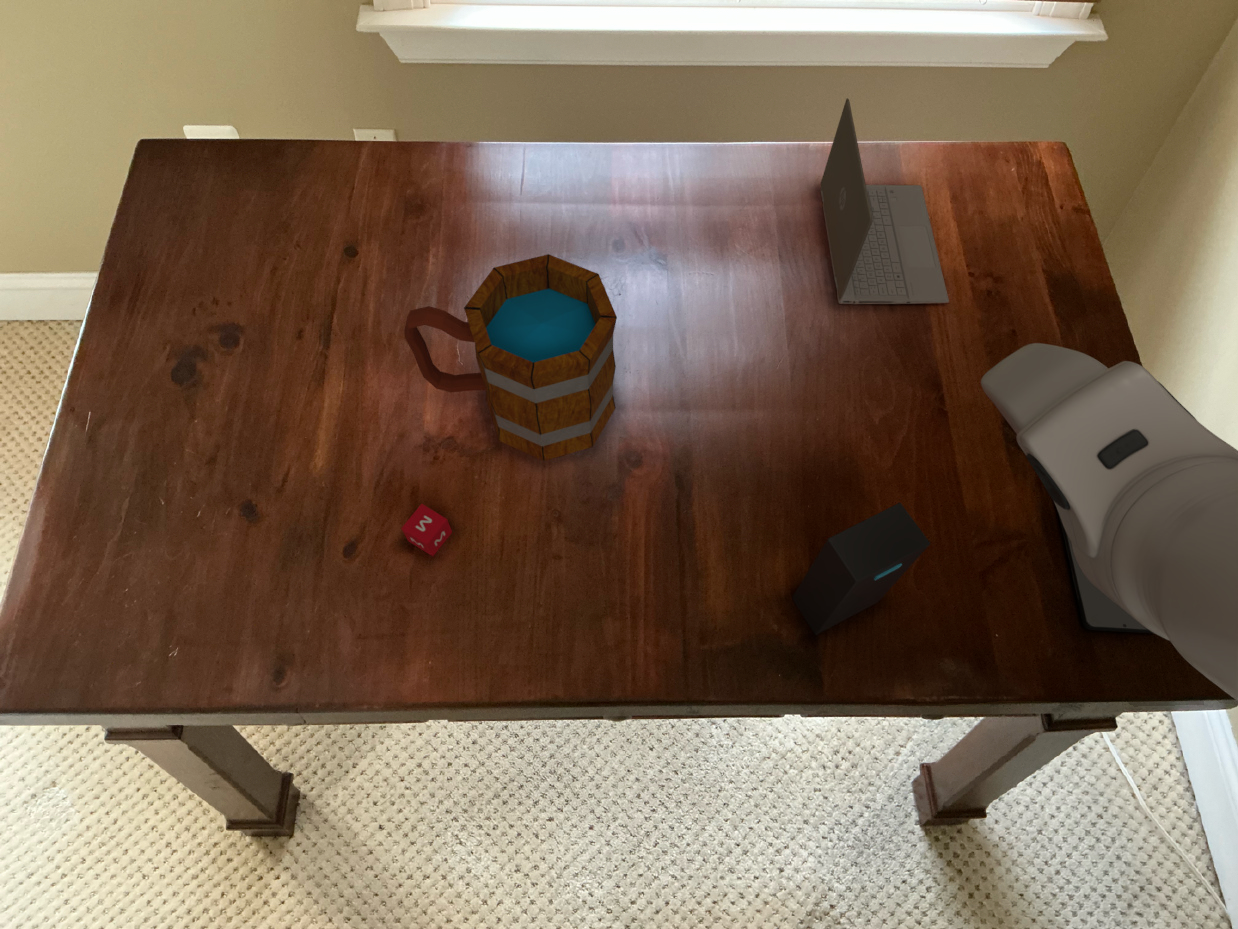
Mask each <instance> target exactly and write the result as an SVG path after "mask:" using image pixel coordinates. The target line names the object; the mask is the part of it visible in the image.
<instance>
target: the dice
mask: <svg viewBox="0 0 1238 929" xmlns="http://www.w3.org/2000/svg"><path fill="white" fill-rule="evenodd" d="M401 531H402V533H403V534H404V537H405V538H406V540H407V542H409V543H410V544H412V545H413V546H415V547H417V548H418V549H420V550H422V551H423V552H424V553H426V554H428V555H429V556H431V557H434V556H435V555H436V554H437V553H438V551H439V550H440V549H441V547H442V546H443V545H444V543H445V542H446V541H447V540H448V538H449V537H451V534H452V533H453V530H452V527H451V526H450V523H449V520H448V518H446V517H444V516H443V515H441V514H440V513H438V512H437V511H436V510H435V511H434V510H433V509H432V508H430V507H428V506H426V505H425V504H423V503H421V504H420V505H419V506H418V508H416V510H415V511H414V512H413V513H412V514H411V516H410V517H409V518H408V519H407V520H406V522H405V523H404V524H403V525H402V526H401Z"/></svg>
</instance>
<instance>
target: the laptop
mask: <svg viewBox="0 0 1238 929" xmlns="http://www.w3.org/2000/svg"><path fill="white" fill-rule="evenodd" d="M842 108H843V109H842V112H841V115H840V119H839V121H838V125H837V128H836V131H835V135H834V137H833V141H832V145H831V147H830V151H829V154H828V159H827V160H826V165H825V168H824V171H823V174H822V177H821V180H820V188H819V190H820V196H821V202H822V210H823V216H824V222H825V228H826V234H827V241H828V242H827V243H828V247H829V253H830V260H831V266H832V272H833V278H834V282H835V287H836V289H835V290H836V297H837V302H838V304H841V305H901V304H903V305H905V304H906V305H907V304H914V305H915V304H948V303H950V299H949V295H948V292H947V287H946V282H945V278H944V275H943V274H944V273H943V270H942V266H941V262H940V256H939V254H938V253H939V252H938V248H937V244H936V241H935V237H934V233H933V228H932V224H931V219H930V216H929V211H928V206H927V204H926V198H925V195H924V190H923V187H922V185H919V184H867V183H866V179H865V173H864V170H863V169H864V168H863V164H862V158H861V154H860V153H861V152H860V148H859V142H858V139H857V133H856V128H855V123H854V117H853V113H852V108H851V102H850V99H849V98H848V97H847V98H845V102H844V105H843V107H842Z"/></svg>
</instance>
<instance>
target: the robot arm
mask: <svg viewBox="0 0 1238 929" xmlns="http://www.w3.org/2000/svg"><path fill="white" fill-rule="evenodd" d="M980 386H981V388H982V390H983V393H985V395H986V396H987V397H988V399H989V400H990V401H991V402H992V403H993V404H994V406H995V407H996V409H997V410H998V411H999V413H1000V414H1001V415H1002V417H1003V418H1004V419H1005V421H1006V422H1007V423H1008V425H1009V426H1010V427H1011V428H1012V430H1013V431H1014V433H1015V434H1016V437H1015V438H1016V442H1017V445H1018V446H1019V448H1020V449H1021V451H1022V452H1023V453H1024V455H1025V458H1026V460H1027V462H1028V463H1029V465H1030V466H1031V468H1032V469H1033V470H1034V472H1035V474H1036V475H1037V476H1038V478H1039V479H1040V481H1041V483H1042V485H1043V486H1044V489H1045V490H1046V492H1047V494H1048V495H1049V497H1050V498H1051V500H1052V501H1053V503H1054V505H1055V507H1056V511H1057V514H1058V513H1059V515H1060V518H1061V521H1062V523H1063V526H1064V528H1065V531H1066V533H1067V535H1068V537H1069V539H1070V540H1071V542H1072V547H1073V552H1074V555H1075V558H1076V561H1077V563H1078V565H1079V567H1080V568H1081V570H1082V572H1083V573H1084V575H1085V576H1086V577H1087V578H1088V580H1089V581H1090V582H1091V583H1092V584H1093V585H1094V586H1095V587H1096V588H1098V589H1099V590H1100V591H1101V592H1102V593H1104V594H1105V595H1106V596H1107V597H1109V598H1110V599H1111V600H1112V601H1113V602H1115V603H1116V604H1117V605H1119V606H1120V607H1121V608H1122V609H1123V610H1125V611H1126V612H1127V613H1128V614H1130V615H1131V616H1132V617H1133V618H1134V619H1135V620H1137V621H1138V622H1139V623H1140V624H1142V625H1143V626H1144V627H1146V628H1147V629H1149V630H1150V631H1152V632H1153V633H1152V634H1155V635H1156V636H1159V637H1160V638H1162V639H1165V640H1166V641H1169V642H1170V643H1171V644H1172V645H1173V648H1175V650H1176V651H1177V653H1179V655H1180V656H1181V657H1182V658H1183V659H1184V660H1185V661H1186V662H1187V663H1188V664H1190V666H1192V667H1193V668H1194V669H1195V670H1196V671H1198V672H1199V673H1200V674H1202V675H1203V677H1205V678H1206V679H1208V680H1209V681H1210V682H1212V683H1213V684H1214V685H1215V686H1217V687H1218V688H1220V689H1221V690H1222V691H1223V692H1225V693H1226V694H1227V695H1228V696H1230V697H1231V698H1233V699H1234V700H1235V701H1237V702H1238V449H1237V448H1235V447H1234V446H1232V445H1231V444H1230V443H1228V442H1226V441H1225V440H1224V439H1222V438H1221V437H1219V436H1218V435H1216V434H1215V433H1213V432H1212V431H1210V430H1209V429H1208V428H1207V427H1206V426H1204V424H1202V423H1201V422H1199V421H1198V419H1197V418H1196V417H1195V416H1193V414H1192V413H1191V412H1190V411H1189V410H1188V409H1187V408H1186V407H1185V406H1184V405H1182V403H1181V402H1179V400H1178V399H1177V398H1176V397H1175V396H1174V395H1173V394H1172V393H1171V392H1170V391H1169V390H1168V389H1167V388H1166V387H1165V386H1164V385H1163V383H1161V382H1160V381H1159V380H1157V379H1156V377H1155V376H1154V375H1152V373H1151V372H1150V371H1149V370H1148V369H1147V368H1145V367H1144V366H1142V365H1141V364H1138V363H1136V362H1134V361H1129V360H1123V361H1120V362H1119V363H1117V364H1115V365H1113V366H1110V367H1109V368H1108V367H1107V366H1106V365H1105V364H1104V363H1101V362H1100V361H1099V360H1098V359H1095V357H1093V356H1090V355H1088V354H1086V353H1084V352H1081V351H1078V350H1075V349H1072V348H1067V347H1063V346H1059V345H1055V344H1049V343H1043V342H1042V343H1041V342H1032V343H1028V344H1025V345H1024V346H1022V347H1020V348H1019V349H1017V350H1015V351H1014V352H1013V353H1010V354H1009V355H1008V356H1006V357H1005V358H1003V359H1002V360H1000V361H999V362H997V363H996V364H995V365H994V366H993V367H992V368H990V369H989V370H987V371H986V373H985V374H984V375H983V376H982V377H981V379H980ZM1059 515H1058V516H1059Z"/></svg>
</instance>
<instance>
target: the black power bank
mask: <svg viewBox="0 0 1238 929" xmlns="http://www.w3.org/2000/svg"><path fill="white" fill-rule="evenodd" d="M930 545H931V542H930V541H929V539H928V537H926V535H925V533H924V532H923V531H922V529H921V528H920V527H919V526H918V524H917V522H916V521H915V520H914V519H913V517H912V516H911V515H910V514H909V512H908V511H907V510H906V508H905V507H904V505H903V504H902V502H897V503H896V504H894V505H892V506H889V507H888V508H886V509H884V510H882V511H880V512H878V513H876V514H874V515H872V516H869V517H867V518H866V519H864V520H862V521H860V522H858V523H856V524H854V525H852V526H850V527H848V528H845V529H844V530H842V531H840V532H838V533H836V534H834V535H832V536H830V537H827V539H826V541H825V542H824V544H823V546H822V548H820V550H819V552H818V554H817V556H816V557H815V559H814V560H813V562H812V564H811V566H810V567H809V569H808V570H807V572H806V574H805V576H804V577H803V579H802V580H801V582H800V584H799V585H798V587H797V589H796V590H795V592H794V593H793V595H792V596H791V599H792V601H793V603H794V604H795V605H796V607H797V608H798V610H799V612H800V614H802V617H803V618H804V620H805V622H806V623H807V625H808V626H809V628H810V629H811V631H812V632H813V634H814V635H815V636H817V635H819V634H821V633H823V632H825V631H827V630H828V629H831V628H832V627H834V626H836V625H839V624H840V623H842V622H843V621H847V619H850V618H852V617H853V616H855V615H857V614H859V613H860V612H862V611H864V610H866V609H868V608H870V607H872V606H874V605H876V604H877V603H879V602H880V601H881V600H882V598H884V596H885V595H886V594H887V593H888V592H889V591H890V590H891V589H892V587H893V586H895V584H896V583H898V581H899V580H900V579H901V577H902V576H903V575H904V574H905V573H906V572H907V571H908V570H909V569H910V567H911V566H913V564H914V563H915V562H916V561H917V559H919V558H920V556H921V555H922V554H923V553H924V552H925V551H926V550H927V549H928V547H929V546H930Z"/></svg>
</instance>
